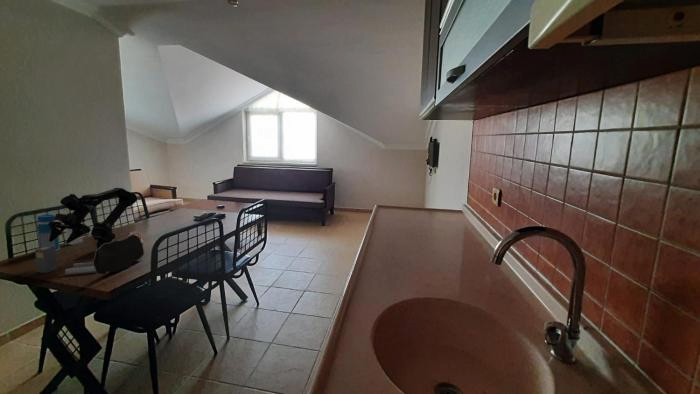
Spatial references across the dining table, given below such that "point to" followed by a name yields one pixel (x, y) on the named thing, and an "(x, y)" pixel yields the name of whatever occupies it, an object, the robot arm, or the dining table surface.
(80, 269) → the din rail
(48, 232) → the beverage bottle
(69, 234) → the white angled block
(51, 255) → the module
